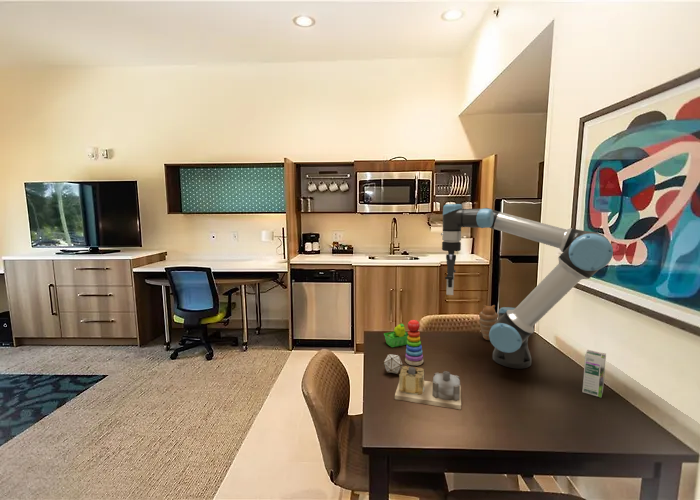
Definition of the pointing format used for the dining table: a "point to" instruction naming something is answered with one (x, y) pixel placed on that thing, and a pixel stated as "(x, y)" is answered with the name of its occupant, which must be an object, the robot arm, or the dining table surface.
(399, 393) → the gear board
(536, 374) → the dining table surface
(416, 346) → the stacking toy
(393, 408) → the dining table surface
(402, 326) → the fruit basket
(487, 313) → the cat ice cream
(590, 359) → the syrup box
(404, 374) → the brass gear
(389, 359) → the game die
